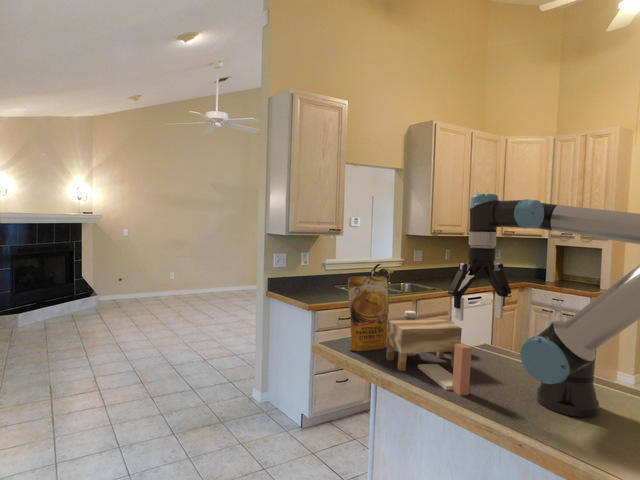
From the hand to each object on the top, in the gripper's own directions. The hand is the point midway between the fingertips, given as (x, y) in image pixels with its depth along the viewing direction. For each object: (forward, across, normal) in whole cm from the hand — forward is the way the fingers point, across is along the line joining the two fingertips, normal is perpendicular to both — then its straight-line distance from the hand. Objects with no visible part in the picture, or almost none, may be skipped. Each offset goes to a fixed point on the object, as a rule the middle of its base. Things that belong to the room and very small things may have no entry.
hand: (479, 318), depth 121 cm
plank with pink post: (+22, +5, -9) cm, 24 cm away
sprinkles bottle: (+21, -2, -45) cm, 50 cm away
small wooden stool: (+21, +4, -24) cm, 33 cm away
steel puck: (+21, +4, -34) cm, 41 cm away
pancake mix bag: (+21, +17, -43) cm, 51 cm away
